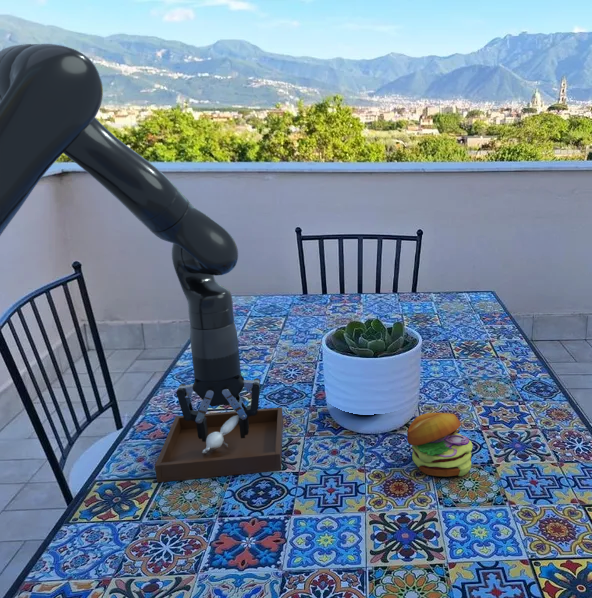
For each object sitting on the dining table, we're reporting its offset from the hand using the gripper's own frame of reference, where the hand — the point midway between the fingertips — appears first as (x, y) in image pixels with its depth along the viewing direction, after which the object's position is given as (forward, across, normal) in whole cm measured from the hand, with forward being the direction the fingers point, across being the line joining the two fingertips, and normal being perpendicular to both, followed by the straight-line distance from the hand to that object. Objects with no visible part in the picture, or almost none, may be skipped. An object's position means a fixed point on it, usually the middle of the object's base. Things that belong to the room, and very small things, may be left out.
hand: (224, 437), depth 99 cm
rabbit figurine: (+2, 0, 0) cm, 2 cm away
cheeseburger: (+3, +36, -11) cm, 38 cm away
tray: (+2, 0, 0) cm, 2 cm away
